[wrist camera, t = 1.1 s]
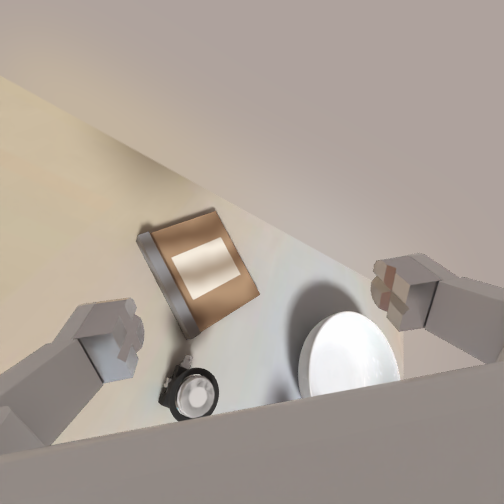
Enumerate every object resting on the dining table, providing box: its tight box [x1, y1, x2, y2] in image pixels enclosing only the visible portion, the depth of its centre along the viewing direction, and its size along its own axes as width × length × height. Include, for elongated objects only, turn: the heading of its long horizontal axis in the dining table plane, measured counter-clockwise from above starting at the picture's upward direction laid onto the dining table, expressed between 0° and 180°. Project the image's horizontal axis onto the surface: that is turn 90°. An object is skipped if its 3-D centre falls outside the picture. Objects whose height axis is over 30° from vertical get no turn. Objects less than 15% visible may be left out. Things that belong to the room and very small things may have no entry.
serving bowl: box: [298, 311, 400, 398], centre depth 45 cm, size 21×21×7 cm
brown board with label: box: [136, 211, 260, 340], centre depth 41 cm, size 16×14×2 cm
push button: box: [158, 355, 219, 421], centre depth 31 cm, size 7×5×10 cm
